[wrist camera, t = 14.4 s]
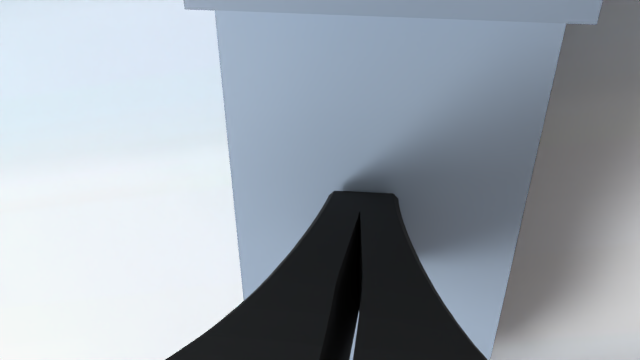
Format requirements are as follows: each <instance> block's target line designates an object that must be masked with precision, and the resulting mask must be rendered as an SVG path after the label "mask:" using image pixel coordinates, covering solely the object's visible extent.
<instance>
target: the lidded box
mask: <svg viewBox="0 0 640 360" xmlns="http://www.w3.org/2000/svg"><path fill="white" fill-rule="evenodd" d="M602 2H603V0H184V7H185V9H191V10H215V18H216V28H217V38H218V48H219V58H220V68H221V78H222V88H223V98H224V108H225V118H226V128H227V138H228V148H229V158H230V168H231V178H232V188H233V198H234V208H235V218H236V227H237V237H238V247H239V257H240V267H241V277H242V287H243V297H244V300H245V299H246V298H247V297H248V296H250V295H251V294H252V293H253V292H254V291H255V290H256V289H257V288H258V287H259V286H260V285H261V284H262V283H263V282H264V281H265V280H266V279H267V278H268V277H269V276H270V274H271V273H272V272H273V271H274V270H275V269H276V268H277V267H278V265H279V264H280V263H281V262H282V261H283V260H284V259H285V257H286V256H287V255H288V254H289V253H290V252H291V250H292V249H293V248H294V247H295V245H296V244H297V243H298V241H299V240H300V239H301V237H302V236H303V235H304V233H305V232H306V231H307V229H308V228H309V227H310V225H311V224H312V222H313V221H314V219H315V218H316V216H317V215H318V213H319V212H320V210H321V208H322V207H323V205H324V203H325V202H326V200H327V198H328V196H329V195H330V194H331V193H332V192H333V191H353V192H374V193H393V194H394V195H395V196H396V197H397V198H398V200H399V207H400V211H401V215H402V218H403V222H404V224H405V227H406V230H407V233H408V235H409V238H410V240H411V242H412V245H413V247H414V249H415V251H416V253H417V255H418V258H419V260H420V262H421V264H422V266H423V268H424V270H425V272H426V273H427V275H428V277H429V279H430V280H431V282H432V284H433V286H434V288H435V289H436V291H437V293H438V294H439V296H440V297H441V299H442V301H443V302H444V304H445V305H446V307H447V308H448V310H449V311H450V313H451V314H452V315H453V317H454V318H455V320H456V321H457V323H458V324H459V325H460V327H461V328H462V329H463V331H464V332H465V333H466V335H467V336H468V337H469V338H470V340H471V341H472V342H473V344H474V345H475V346H476V347H477V348H478V349H479V350H480V352H481V353H482V354H483V355H484V356H485V357H486V358H487V360H490V358H491V354H492V349H493V345H494V341H495V336H496V332H497V327H498V323H499V319H500V314H501V310H502V305H503V301H504V296H505V292H506V288H507V283H508V279H509V274H510V270H511V266H512V261H513V257H514V252H515V248H516V244H517V239H518V235H519V230H520V226H521V221H522V217H523V213H524V208H525V204H526V199H527V195H528V191H529V186H530V182H531V177H532V173H533V169H534V164H535V160H536V155H537V151H538V146H539V142H540V138H541V133H542V129H543V124H544V120H545V116H546V111H547V107H548V102H549V98H550V93H551V89H552V85H553V80H554V76H555V71H556V67H557V63H558V58H559V54H560V49H561V45H562V41H563V36H564V32H565V27H566V24H592V25H597V22H598V18H599V14H600V10H601V6H602ZM358 319H359V313H358V318H357V323H356V329H355V334H354V339H353V344H352V349H351V354H350V359H349V360H353V356H354V349H355V341H356V334H357V326H358Z"/></svg>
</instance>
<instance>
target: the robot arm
mask: <svg viewBox="0 0 640 360" xmlns="http://www.w3.org/2000/svg"><path fill="white" fill-rule="evenodd" d="M358 313H359V319H358V326H357V334H356V341H355V349H354V356H353V360H487V358H486V357H485V356H484V355H483V354H482V353H481V352H480V350H479V349H478V348H477V347H476V346H475V345H474V344H473V342H472V341H471V340H470V338H469V337H468V336H467V335H466V333H465V332H464V331H463V329H462V328H461V327H460V325H459V324H458V323H457V321H456V320H455V318H454V317H453V315H452V314H451V313H450V311H449V310H448V308H447V307H446V305H445V304H444V302H443V301H442V299H441V297H440V296H439V294H438V293H437V291H436V289H435V288H434V286H433V284H432V282H431V280H430V279H429V277H428V275H427V273H426V272H425V270H424V268H423V266H422V264H421V262H420V260H419V258H418V255H417V253H416V251H415V249H414V247H413V245H412V242H411V240H410V238H409V235H408V233H407V230H406V227H405V224H404V222H403V218H402V215H401V211H400V207H399V200H398V198H397V197H396V196H395V195H394V194H393V193H374V192H353V191H333V192H332V193H331V194H330V195H329V196H328V198H327V200H326V202H325V203H324V205H323V207H322V208H321V210H320V212H319V213H318V215H317V216H316V218H315V219H314V221H313V222H312V224H311V225H310V227H309V228H308V229H307V231H306V232H305V233H304V235H303V236H302V237H301V239H300V240H299V241H298V243H297V244H296V245H295V247H294V248H293V249H292V250H291V252H290V253H289V254H288V255H287V256H286V257H285V259H284V260H283V261H282V262H281V263H280V264H279V265H278V267H277V268H276V269H275V270H274V271H273V272H272V273H271V274H270V276H269V277H268V278H267V279H266V280H265V281H264V282H263V283H262V284H261V285H260V286H259V287H258V288H257V289H256V290H255V291H254V292H253V293H252V294H251V295H250V296H248V297H247V298H246V299H245V300H244V301H243V302H242V303H241V304H240V305H239V306H238V307H236V308H235V309H234V310H233V311H232V312H230V313H229V314H228V315H227V316H226V317H224V318H223V319H222V320H221V321H220V322H218V323H217V324H216V325H215V326H213V327H212V328H211V329H209V330H208V331H207V332H205V333H204V334H203V335H201V336H200V337H199V338H197V339H196V340H194V341H193V342H191V343H190V344H188V345H187V346H185V347H184V348H182V349H181V350H179V351H178V352H176V353H175V354H173V355H172V356H170V357H169V358H167V359H166V360H349V359H350V354H351V349H352V344H353V339H354V334H355V329H356V323H357V318H358Z"/></svg>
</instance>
